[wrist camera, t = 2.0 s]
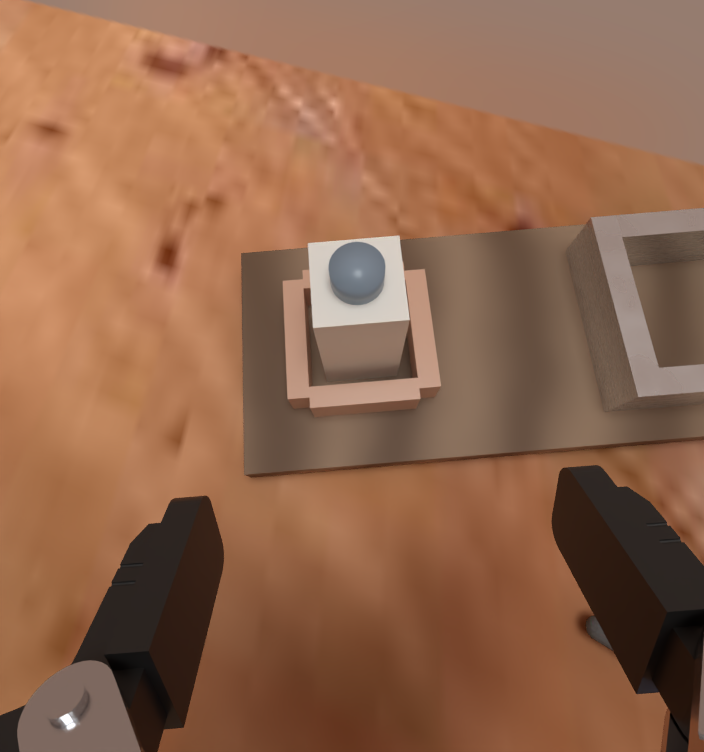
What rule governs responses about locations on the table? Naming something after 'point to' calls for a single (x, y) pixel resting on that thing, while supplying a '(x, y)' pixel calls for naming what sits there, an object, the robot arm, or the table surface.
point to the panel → (471, 360)
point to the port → (632, 305)
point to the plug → (359, 306)
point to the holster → (364, 393)
